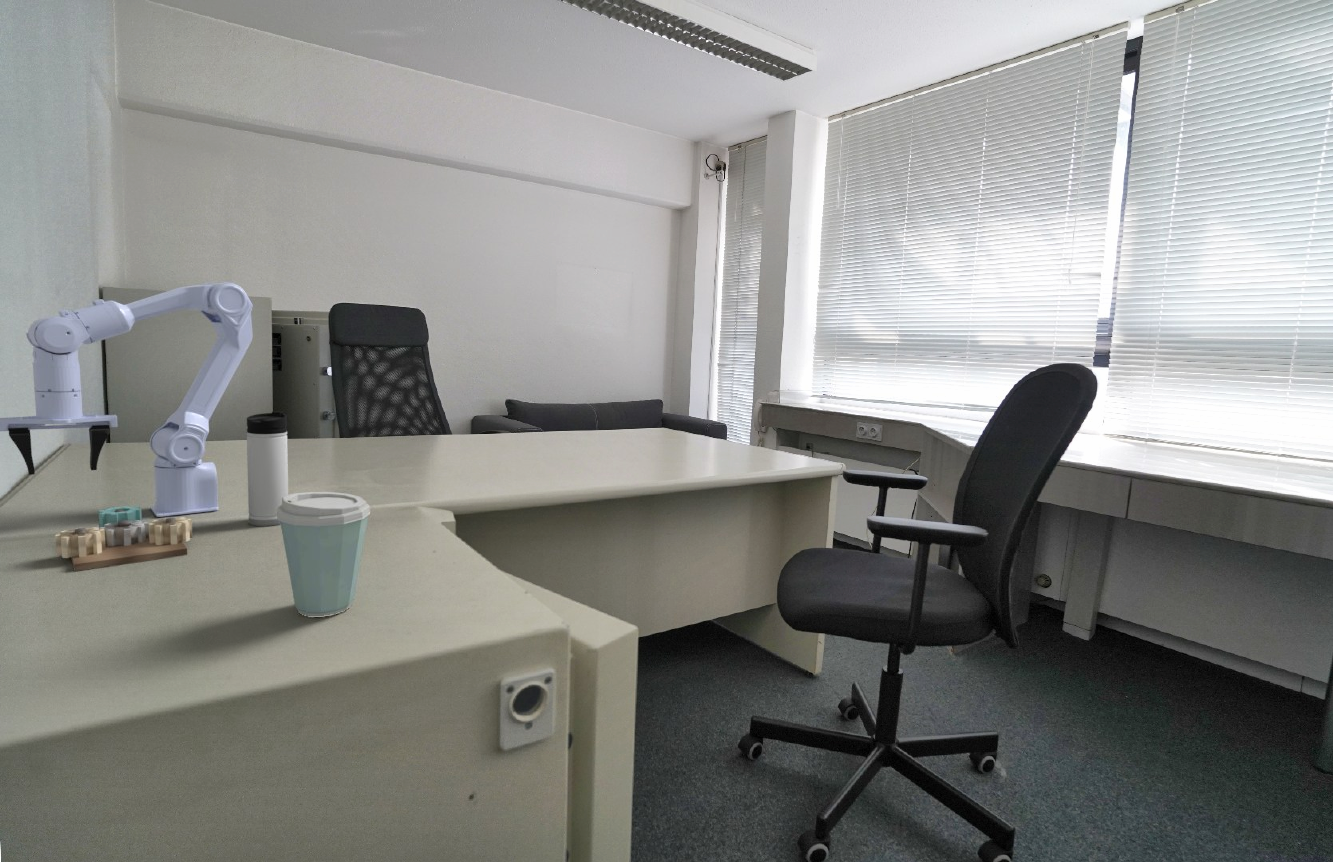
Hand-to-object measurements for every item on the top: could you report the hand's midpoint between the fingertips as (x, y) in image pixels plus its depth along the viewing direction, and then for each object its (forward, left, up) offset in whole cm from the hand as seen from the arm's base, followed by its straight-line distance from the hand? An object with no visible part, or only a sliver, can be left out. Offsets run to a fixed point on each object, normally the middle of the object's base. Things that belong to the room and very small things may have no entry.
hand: (63, 471), depth 111 cm
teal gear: (-6, +12, -8) cm, 16 cm away
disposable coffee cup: (-22, +60, -10) cm, 65 cm away
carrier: (-6, +18, -9) cm, 21 cm away
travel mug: (-27, +14, -10) cm, 32 cm away
